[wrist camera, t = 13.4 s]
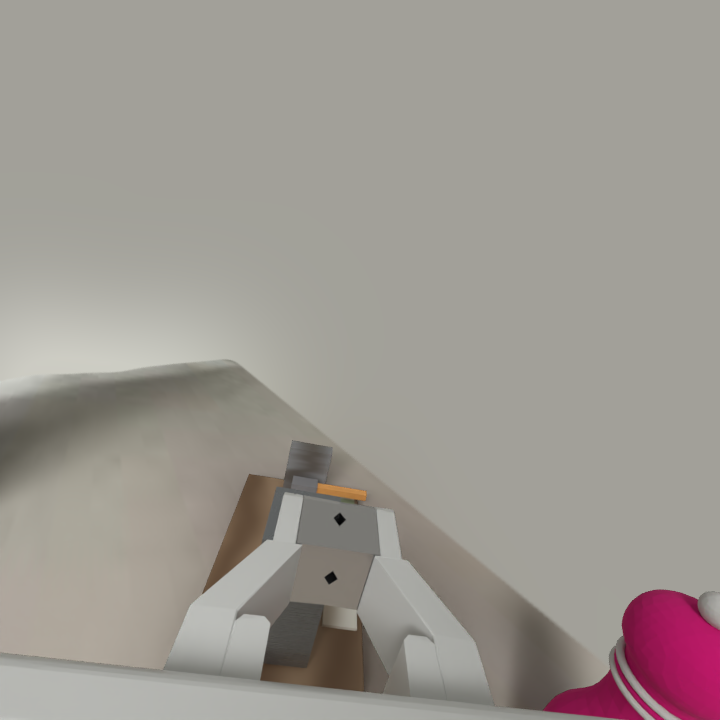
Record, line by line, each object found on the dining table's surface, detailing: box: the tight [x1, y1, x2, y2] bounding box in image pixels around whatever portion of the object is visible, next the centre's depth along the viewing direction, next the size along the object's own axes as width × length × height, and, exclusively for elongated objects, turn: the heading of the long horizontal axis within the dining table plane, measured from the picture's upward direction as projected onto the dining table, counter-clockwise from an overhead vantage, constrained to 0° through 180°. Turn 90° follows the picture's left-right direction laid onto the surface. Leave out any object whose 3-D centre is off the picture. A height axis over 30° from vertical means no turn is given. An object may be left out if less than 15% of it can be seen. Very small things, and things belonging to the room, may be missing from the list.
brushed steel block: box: [261, 487, 341, 668], centre depth 30 cm, size 5×10×12 cm, turn 2°
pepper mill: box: [543, 590, 720, 720], centre depth 23 cm, size 7×7×20 cm
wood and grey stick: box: [291, 476, 367, 501], centre depth 44 cm, size 9×2×2 cm, turn 91°
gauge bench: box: [202, 440, 364, 692], centre depth 36 cm, size 14×22×8 cm, turn 1°
